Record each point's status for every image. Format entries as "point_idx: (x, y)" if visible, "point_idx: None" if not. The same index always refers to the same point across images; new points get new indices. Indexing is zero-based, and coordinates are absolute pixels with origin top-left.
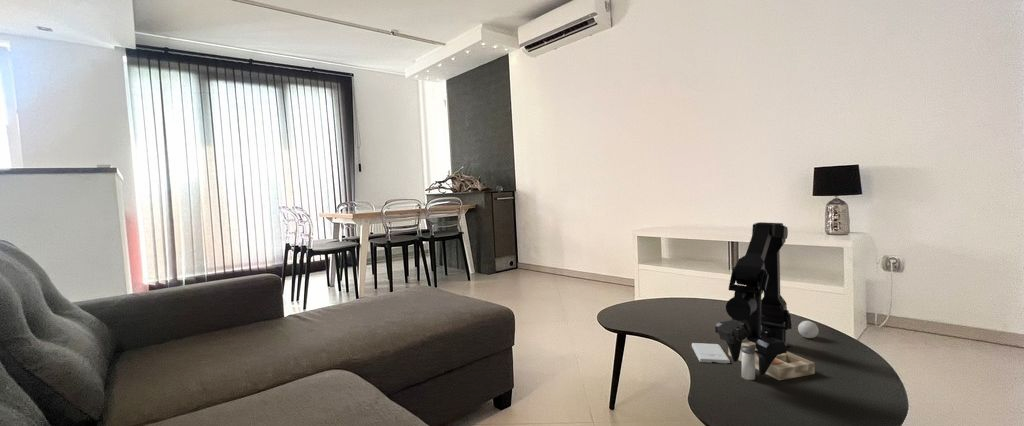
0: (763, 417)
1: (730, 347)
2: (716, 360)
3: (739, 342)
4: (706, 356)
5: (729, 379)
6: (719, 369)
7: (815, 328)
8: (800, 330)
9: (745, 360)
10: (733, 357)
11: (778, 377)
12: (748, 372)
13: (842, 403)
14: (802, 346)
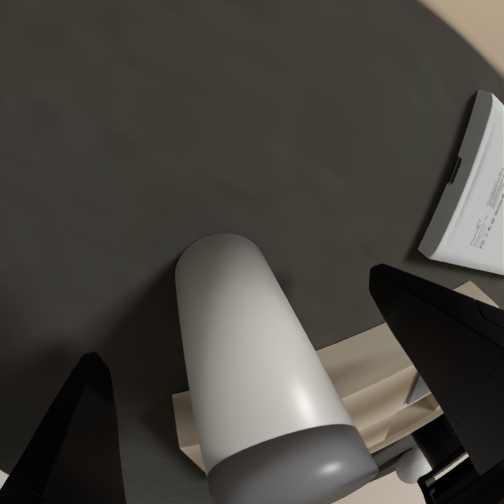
0: None
1: (480, 321)
2: (460, 183)
3: (463, 418)
4: (500, 153)
5: (197, 111)
6: (380, 136)
7: (403, 480)
8: (421, 458)
9: (221, 364)
10: (397, 281)
11: (176, 405)
12: (183, 296)
13: (20, 448)
14: (385, 450)
